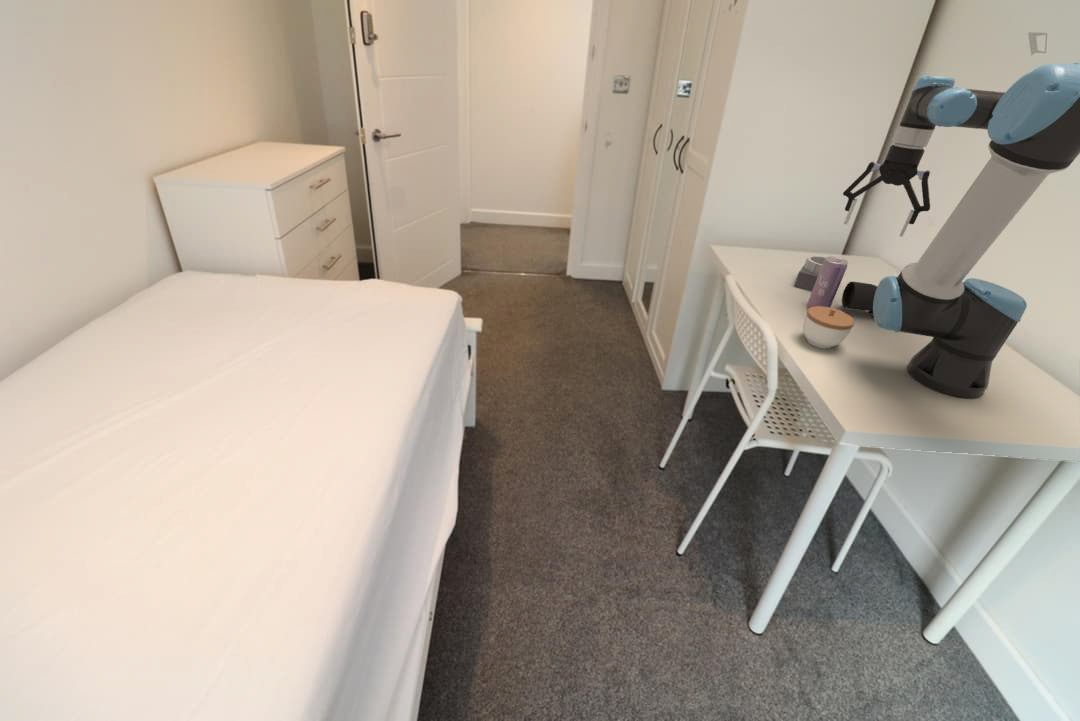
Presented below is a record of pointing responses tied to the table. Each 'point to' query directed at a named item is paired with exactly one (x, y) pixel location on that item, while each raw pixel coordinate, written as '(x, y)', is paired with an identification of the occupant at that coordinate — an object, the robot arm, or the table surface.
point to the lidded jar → (826, 326)
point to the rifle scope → (859, 296)
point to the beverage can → (827, 282)
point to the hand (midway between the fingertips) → (872, 229)
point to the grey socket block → (809, 272)
